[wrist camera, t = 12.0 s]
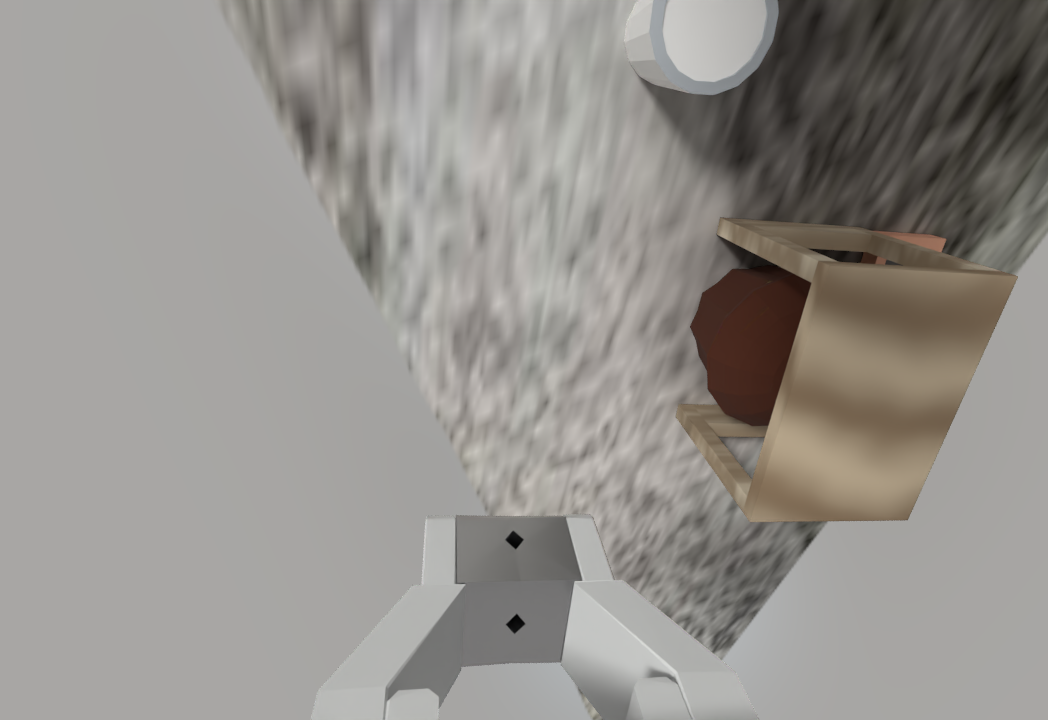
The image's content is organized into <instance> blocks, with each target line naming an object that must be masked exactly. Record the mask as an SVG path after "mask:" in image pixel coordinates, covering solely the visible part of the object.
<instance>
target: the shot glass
mask: <svg viewBox="0 0 1048 720" xmlns="http://www.w3.org/2000/svg"><path fill="white" fill-rule="evenodd" d="M778 14H779V9H778V0H638V1H637V2H636V3H635V5H634V7H633V9H632V12H631V14H630V16H629V18H628V20H627V22H626V31H625V40H624V44H625V48H626V52H627V57H628V61H629V63H630V64H631V66H632V67H633V68H634V70H635V71H636V73H637V74H638V76H640V77H641V78H643V79H645V80H646V81H648V82H650V83H652V84H653V85H657V86H662V87H666V88H670V89H674V90H678V91H682V92H686V93H690V94H704V95H716V94H718V93H721V92H724V91H726V90H729V89H732V88H734V87H737V86H738V85H740V84H741V83H742V82H743V81H744V80H745V79H746V78H747V77H748V76H749V75H751V74H752V73H753V72H754V71H755V70H756V69H757V68H758V67H759V65H760V64H761V62H762V60H763V58H764V57H765V55H766V53H767V51H768V49H769V48H770V46H771V44H772V42H773V38H774V33H775V29H776V24H777V19H778Z"/></svg>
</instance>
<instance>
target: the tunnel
mask: <svg viewBox="0 0 1048 720" xmlns="http://www.w3.org/2000/svg"><path fill="white" fill-rule="evenodd" d="M717 235H719V236H721V237H723V238H725V239H727V240H729V241H730V242H732V243H734V244H736V245H738V246H740V247H742V248H744V249H746V250H748V251H750V252H752V253H754V254H756V255H758V256H760V257H762V258H764V259H766V260H768V261H770V262H772V263H774V264H776V265H778V266H780V267H782V268H784V269H786V270H787V271H789V272H791V273H793V274H795V275H797V276H799V277H801V278H803V279H805V280H807V281H809V282H811V287H810V290H809V293H808V297H807V300H806V303H805V307H804V310H803V313H802V317H801V320H800V323H799V327H798V330H797V333H796V336H795V340H794V343H793V346H792V350H791V353H790V356H789V360H788V363H787V366H786V370H785V373H784V376H783V379H782V383H781V386H780V389H779V393H778V396H777V399H776V403H775V406H774V409H773V413H772V416H771V419H770V423H769V426H751V425H749V424H746V423H744V422H742V421H740V420H737V419H735V418H733V417H731V416H728V415H726V414H724V412H723V411H722V409H721V408H720V406H719V405H692V404H679V405H678V409H677V414H676V418H677V419H678V421H679V422H680V423H681V425H682V426H683V428H684V429H685V431H686V432H687V433H688V435H689V436H690V438H691V439H692V440H693V442H694V443H695V445H696V446H697V448H698V449H699V450H700V452H701V453H702V455H703V456H704V457H705V459H706V460H707V462H708V463H709V465H710V466H711V467H712V469H713V470H714V472H715V473H716V474H717V476H718V477H719V479H720V480H721V482H722V483H723V484H724V486H725V487H726V489H727V490H728V491H729V493H730V494H731V496H732V497H733V499H734V500H735V501H736V503H737V504H738V506H739V507H740V509H741V510H742V511H743V513H744V514H745V516H746V517H747V518H748V520H749V521H750V522H797V521H879V520H880V521H881V520H883V521H884V520H908V518H909V516H910V514H911V512H912V509H913V507H914V505H915V503H916V501H917V498H918V496H919V494H920V491H921V489H922V487H923V485H924V483H925V481H926V479H927V476H928V474H929V472H930V470H931V468H932V465H933V463H934V461H935V459H936V457H937V454H938V452H939V450H940V448H941V446H942V443H943V441H944V439H945V437H946V435H947V432H948V430H949V428H950V426H951V423H952V421H953V419H954V417H955V415H956V412H957V410H958V408H959V406H960V403H961V401H962V399H963V397H964V395H965V392H966V390H967V388H968V386H969V384H970V381H971V379H972V377H973V375H974V373H975V371H976V368H977V366H978V364H979V362H980V360H981V357H982V355H983V353H984V350H985V349H986V346H987V344H988V342H989V340H990V338H991V335H992V333H993V331H994V329H995V326H996V324H997V322H998V320H999V318H1000V315H1001V313H1002V311H1003V309H1004V306H1005V304H1006V302H1007V300H1008V298H1009V295H1010V293H1011V291H1012V289H1013V287H1014V284H1015V282H1016V280H1017V278H1018V276H1015V275H1012V274H1009V273H1005V272H1002V271H999V270H996V269H993V268H989V267H986V266H983V265H980V264H977V263H973V262H970V261H967V260H964V259H960V258H957V257H954V256H951V255H948V254H944V253H941V252H938V251H935V250H932V249H928V248H925V247H922V246H919V245H916V244H912V243H909V242H906V241H903V240H900V239H896V238H893V237H890V236H887V235H884V234H880V233H877V232H874V231H871V230H868V229H864V228H861V227H851V226H836V225H821V224H807V223H792V222H777V221H763V220H748V219H733V218H720V221H719V225H718V230H717ZM807 248H810V249H826V250H842V251H858V252H868V253H871V254H873V255H876V256H879V257H882V258H884V259H887V260H890V261H893V262H895V263H898V264H901V265H903V266H901V265H884V264H867V263H850V262H838V261H836V260H834V259H831V258H829V257H826V256H824V255H822V254H819V253H817V252H814V251H812V250H810V249H807ZM719 437H765V439H764V442H763V446H762V449H761V452H760V456H759V459H758V462H757V466H756V469H755V472H754V476H753V479H751V478H750V477H749V476H748V474H747V473H746V472H745V470H744V469H743V468H742V467H741V465H740V464H739V463H738V462H737V460H736V459H735V458H734V457H733V455H732V454H731V453H730V451H729V450H728V449H727V448H726V446H725V445H724V444H723V443H722V441H721V440H720V439H719Z"/></svg>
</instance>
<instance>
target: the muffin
mask: <svg viewBox="0 0 1048 720" xmlns="http://www.w3.org/2000/svg"><path fill="white" fill-rule="evenodd" d="M810 287H811V282H809V281H807V280H805V279H803V278H801V277H799V276H797V275H795V274H793V273H791V272H789V271H787V270H786V269H784V268H781V267H776V266H771V265H765V266H760V267H755V268H751V269H732V270H731V271H730V272H729V273H728V274H727V275H726V276H724V277H723V278H722V279H721V280H720V281H719V282H718V283H717V284H715V285H714V286H712V287H711V288H709V289H708V290H706V291H705V292H703V293H702V296H701V300H700V304H699V307H698V311H697V313H696V315H695V317H694V319H693V321H692V324H691V326H690V328H691V330H692V332H693V335H694V337H695V339H696V343H697V348H698V353H699V357H700V359H701V360H702V362H703V364H704V366H705V368H706V370H707V378H708V390H709V392H710V393H711V395H712V396H713V397H714V399H715V400H716V402H717V403H718V405H719V406H720V408H721V409H722V411H723V412H724V414H726V415H728V416H731V417H733V418H735V419H737V420H740V421H742V422H744V423H746V424H749V425H751V426H769V423H770V419H771V416H772V413H773V409H774V406H775V403H776V399H777V396H778V393H779V389H780V386H781V383H782V379H783V376H784V373H785V370H786V366H787V363H788V360H789V356H790V353H791V350H792V346H793V343H794V340H795V336H796V333H797V330H798V327H799V323H800V320H801V317H802V313H803V310H804V307H805V303H806V300H807V297H808V293H809V290H810Z"/></svg>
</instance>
